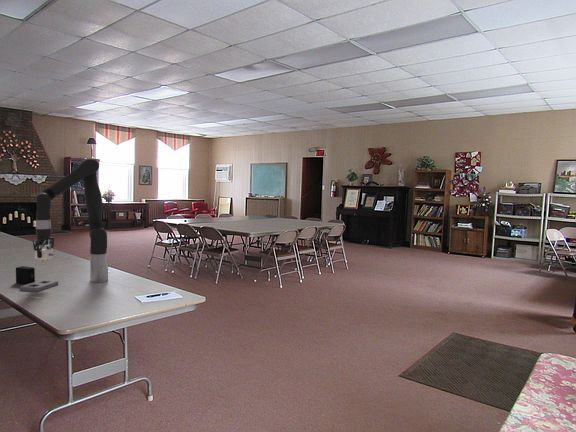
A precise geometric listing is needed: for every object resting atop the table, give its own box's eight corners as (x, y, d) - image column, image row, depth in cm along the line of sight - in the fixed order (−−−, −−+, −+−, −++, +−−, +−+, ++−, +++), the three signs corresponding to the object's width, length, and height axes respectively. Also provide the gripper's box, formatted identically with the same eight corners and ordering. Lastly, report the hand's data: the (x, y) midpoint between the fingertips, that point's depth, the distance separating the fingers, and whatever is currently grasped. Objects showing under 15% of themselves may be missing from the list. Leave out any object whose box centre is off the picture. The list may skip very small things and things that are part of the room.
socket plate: (58, 285, 241) (58, 281, 241) (37, 292, 225) (37, 288, 225) (41, 283, 243) (41, 279, 242) (19, 290, 227) (19, 286, 227)
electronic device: (28, 285, 237) (28, 268, 237) (15, 283, 241) (15, 267, 240) (35, 284, 241) (34, 267, 241) (22, 282, 245) (22, 265, 244)
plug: (56, 261, 238) (56, 249, 238) (48, 263, 232) (48, 251, 232) (42, 260, 240) (42, 248, 239) (34, 262, 234) (34, 250, 233)
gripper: (39, 229, 227) (40, 259, 228) (58, 226, 241) (58, 254, 242) (27, 228, 228) (28, 258, 229) (47, 226, 242) (47, 254, 244)
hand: (44, 256), depth 236 cm, fingers closed on plug, 6 cm apart
